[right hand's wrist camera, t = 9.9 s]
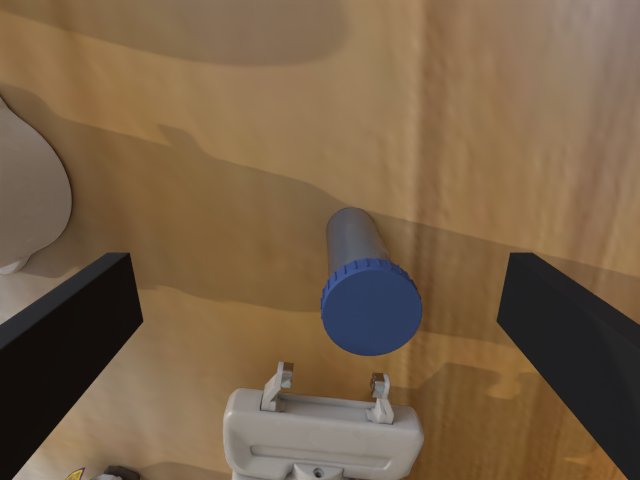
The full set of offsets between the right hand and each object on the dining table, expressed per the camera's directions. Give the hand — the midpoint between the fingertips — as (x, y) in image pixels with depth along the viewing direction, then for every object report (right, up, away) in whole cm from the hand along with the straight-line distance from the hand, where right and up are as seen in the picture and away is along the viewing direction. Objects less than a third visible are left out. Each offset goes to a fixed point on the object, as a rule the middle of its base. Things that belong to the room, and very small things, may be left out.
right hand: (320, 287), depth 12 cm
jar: (+3, +3, +24) cm, 24 cm away
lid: (+3, -3, +9) cm, 10 cm away
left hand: (+1, -11, +22) cm, 25 cm away
